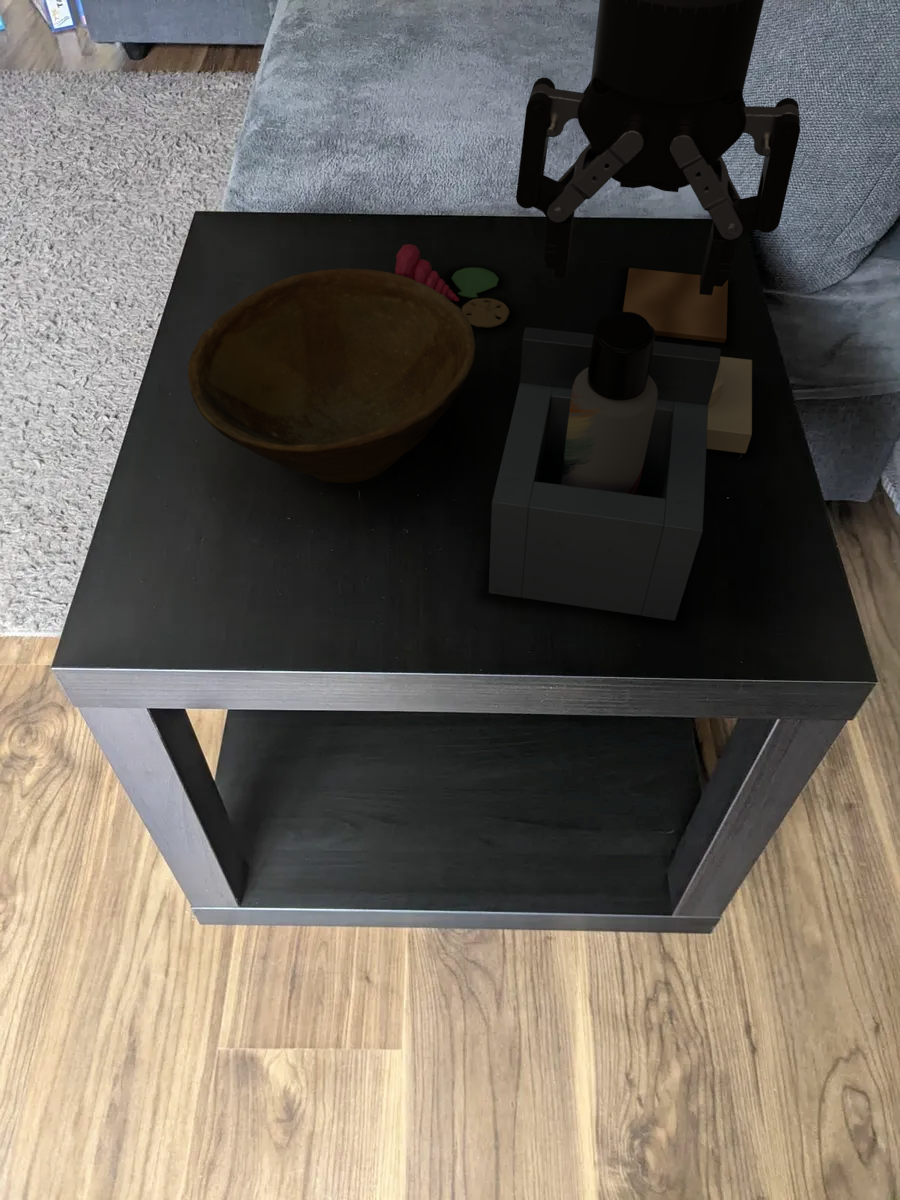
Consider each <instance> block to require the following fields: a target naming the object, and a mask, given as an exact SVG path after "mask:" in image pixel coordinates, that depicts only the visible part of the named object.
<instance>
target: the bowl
mask: <svg viewBox="0 0 900 1200" xmlns="http://www.w3.org/2000/svg"><path fill="white" fill-rule="evenodd" d="M476 344H477V343H476V339H475V333H474V330H473V327H472V325H471V324H470V322H469V320H468V319H467V317H466V316H465V314H464V313H463V312H462V308H460V307H459V306H458V305H456V303H454V302H453V301H451V300H449V299H448V298H447V297H445V296H444V295H442V294H440V293H438V292H437V291H435V290H434V289H432V288H430V287H428V286H426V285H425V284H422V283H419V282H417V281H414V280H412V279H410V278H407V277H404V276H401V275H398V274H395V272H394V273H393V272H390V271H385V270H377V269H367V268H350V267H349V268H347V267H346V268H335V269H322V270H321V269H320V270H316V271H310V272H304V273H298V274H294V275H291V276H288V277H286V278H283V279H281V280H278V281H275V282H274V283H271V284H269V285H268V286H265V287H264V288H261V289H259V290H258V291H256V292H254V293H252V294H251V295H248V296H247V297H245V298H243V299H241V301H239V302H238V303H236V304H235V305H234V306H232V307H230V308H229V309H228V310H227V311H226V312H225V313H223V314H222V315H221V316H219V317H218V318H217V319H216V320H215V321H214V322H213V324H212V326H211V328H207V329H206V330H204V332H203V333H202V334H201V336H200V337H199V339H198V341H197V344H196V345H195V346H194V348H193V350H192V352H191V354H190V355H191V356H190V357H189V361H188V367H187V380H188V384H189V387H190V395H191V396H192V399H193V402H194V404H195V406H196V408H197V409H198V411H199V413H200V415H201V416H202V417H203V418H204V420H206V421H207V422H208V423H209V425H211V427H213V429H215V430H216V431H217V432H218V433H220V434H221V435H222V436H224V437H225V438H227V439H228V440H230V441H232V442H233V443H235V444H237V445H239V446H241V447H243V448H245V449H247V450H249V451H251V452H253V453H255V454H257V455H259V456H260V457H263V458H265V459H267V460H269V461H271V462H274V463H276V464H277V465H280V466H282V467H284V468H286V469H288V470H292V471H294V472H296V473H301V474H305V475H309V476H312V477H314V478H316V479H317V480H319V481H321V482H325V483H335V484H336V483H337V484H338V483H341V484H355V483H360V482H364V481H368V480H370V479H371V480H372V479H373V478H375V477H377V476H379V475H381V474H383V473H384V472H386V471H387V470H388V469H389V468H390V467H392V466H394V464H395V463H396V462H398V460H399V459H400V458H401V457H403V456H404V455H405V454H407V453H408V452H410V450H411V451H412V449H413V448H415V447H416V446H417V445H419V444H420V443H421V442H422V441H423V440H424V439H425V438H426V436H427V435H428V434H429V432H430V431H431V430H432V429H433V427H435V425H436V424H437V423H438V421H439V420H440V419H441V417H443V416H444V414H445V413H446V411H447V410H448V409H449V408H450V406H452V404H453V402H455V400H456V398H457V397H458V396H459V394H460V393H461V391H462V389H463V387H464V386H465V384H466V382H467V380H468V379H469V377H470V375H471V373H472V372H473V368H474V365H475V361H476V355H477V353H476V352H477V350H476V349H477V347H476Z"/></svg>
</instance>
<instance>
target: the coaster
mask: <svg viewBox="0 0 900 1200" xmlns="http://www.w3.org/2000/svg"><path fill="white" fill-rule="evenodd" d="M700 277H701V274H693V273H684V272H674V271H664V270H655V269H654V270H653V269H645V268H644V269H643V268H635V267H628V271H627V279H626V285H625V293H624V300H623V307H622V312H633V313H636V314H639V315H641V316H642V317H644V318H645V319H646V320H647V321H648V323H649V325H651V326H652V327H653V328H654V330H655V336H659V337H665V338H676V339H685V340H695V341H704V342H711V343H722V344H725V343H726V341H727V335H728V334H727V333H728V330H727V329H728V299H729V298H728V295H729V279H728V280H727V281H726V282H725V284H724V285H723V286H722V287H719V286H714V289H713V292H712V295H703V294H699V290H700Z"/></svg>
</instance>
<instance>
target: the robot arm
mask: <svg viewBox="0 0 900 1200" xmlns="http://www.w3.org/2000/svg"><path fill="white" fill-rule="evenodd" d="M764 2H765V0H599V3H598V5H599V6H598V14H597V23H596V31H595V38H594V39H595V41H594V51H593V60H592V67H591V77H590V80H589V83H588V84H587V86H586V87H585V89H584V90H583V92H579V91H573V90H566V89H565V90H564V89H559V88H556V85H555V83H554V81H553V80H552V79H551V78H549V77H540V78H537V79H536V80H535V81H534V83H533V85H532V88H531V91H530V95H529V98H528V101H527V104H526V108H525V115H524V125H523V132H522V133H523V134H522V141H521V149H520V159H519V167H518V168H519V169H518V175H517V176H518V177H517V185H516V193H515V202H516V203H517V205H518V206H519V207H521V208H523V209H526V210H527V209H532V208H534V209H536V210H539V211H540V212H541V213H542V214H544V216H545V218H546V233H545V246H544V257H543V261H544V263H545V266H546V268H547V269H554V273H553V274H554V275H553V278H554V279H560V280H567V276H568V270H569V265H570V258H571V249H572V241H573V233H574V232H573V230H574V222H575V211H576V210H577V209H578V208H579V207H580V206H582V204H583V203H584V202H585V201H586V200H590V199H592V198H593V197H594V195H596V194H597V193H598V192H599V191H600V190H601V189H602V188H603V187H604V186H605V185H606V183H608V182H609V181H610V180H611V179H613V180H614V181H615V182H618V183H619V188H627V189H637V188H644V187H645V188H646V187H651V188H654V189H657V190H659V191H662V192H671V193H679V189H682V188H685V187H688V186H690V188H691V189H692V191H693V193H694V195H695V196H696V198H697V200H698V201H699V203H700V205H701V207H702V208H703V210H704V211H706V212H707V213H708V215H709V216H710V218H711V220H712V223H711V229H710V233H709V237H708V241H707V246H706V250H705V254H704V259H703V263H702V266H701V271H700V275H701V277H700V290H699V294H703V295H712V292H713V289H714V286H719V287H722V286H723V285H724V284H725V282H726V281H727V280H728V281H729V275H730V273H731V272H730V271H731V268H732V264H733V261H734V256H735V253H736V250H737V245H738V242H739V240H740V238H741V237H742V236H743V235H745V234H746V233H748V232H753V231H760V232H761V233H764V234H765V233H766V234H768V233H771V232H774V231H775V230H777V229H778V228H779V226H780V223H781V218H782V213H783V210H784V205H785V200H786V197H787V191H788V188H789V182H790V179H791V174H792V169H793V165H794V161H795V156H796V152H797V147H798V143H799V138H800V134H801V123H800V122H801V119H800V106H799V103H798V101H797V100H796V99H794V98H792V97H786V98H782V99H781V100H779V101H778V102H777V103H776V105H775V106H755V105H753V106H751V105H750V106H749V105H746V103H745V100H744V94H743V93H744V89H745V85H746V79H747V76H748V71H749V67H750V62H751V57H752V53H753V50H754V45H755V42H756V41H755V40H756V36H757V32H758V28H759V24H760V19H761V14H762V10H763V6H764ZM574 119H577V122H578V125H579V127H580V128H581V130H582V132H583V134H584V136H585V137H586V140H587V141H588V143H589V144H588V145H587V146H586V147H584V149H583V150H582V151H581V152H580V154H579V155H578V157H577V158H576V160H575V162H574V163H572V165H571V166H570V167H569V168H568V170H566V172H564V174H562V176H560V178H559V179H558V180H556V179H553V178H551V177H549V176H547V175H545V168H546V163H547V161H546V160H547V154H548V146H549V139H550V138H557V137H558V136H560V135H561V134H562V133H563V131H564V128H565V125H566V124H567V123H568V122H569V121H571V120H574ZM743 134H748V135H749V136H750V137H752V140H753V148H754V151H755V153H756V154H757V155H759V156H760V157H761V156H762V157H763V163H762V167H761V172H760V178H759V183H758V188H757V192H756V195H752V196H747V197H744V198H741V196H740V194H739V192H738V191H737V188H736V185H734V183H733V180H732V179H731V177H730V173H729V170H728V167H727V164H726V162H725V161H724V158H723V157H722V156H723V155H724V154H725V153H726V152H728V151H729V150H730V149H731V147H733V146H734V144H736V143H737V142H738V141H739V140H740V138H742V136H743Z"/></svg>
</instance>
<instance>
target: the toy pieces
mask: <svg viewBox="0 0 900 1200" xmlns="http://www.w3.org/2000/svg"><path fill="white" fill-rule="evenodd" d="M395 258H396V263H395V264H396V265H395V269H394V274H398V275H401V276H404V277H407V278H410V279H412V280H414V281H417V282H419V283H422V284H425V285H426V286H428V287H430V288H432V289H434V290H435V291H437V292H438V293H440V294H442V295H444V296H445V297H447V298H448V299H449V300H450V301H451V302H453V301H454V302H456V303H457V302H460V297H463V298H468V299H471V300H469V301H468V302H466V303H464V304H463V305H462V307H461V310H462V312H463V313H464V314H465V316H466V317H467V319H468V320H469V322H470V324H471V326H473V327H476V328H483V329H484V328H485V329H489V328H490V329H491V328H496V327H498V326H501V325H502V324H504V323H505V322H506V321H507V320H508V317H509V315H510V309H509V307H508V306H507V305H506V303H504V302H502V301H500V300H498V299H494V298H490V297H484V298H483V297H482V298H481V297H479V294H481V293H485V292H487V291H489V290H492V289H494V288H496V287H497V286H498V283H499V280H500V278H499V277H498V276H497V275H496V273H495V272H493V271H490V270H489V269H486V268H483V267H472V266H471V267H463V268H462V269H459V270H456V271H455V272H454V273H453V275H452V276H451V277H450V278H451V281H452V282H453V284H454V285H455V286H456V287H457V289H458V290H460V291H458V292H456V293H457V294H456V293H455V292H454V291H453V290H452V289H451V288H450V286H449V284H446V282H445V280H444V279H443V278H440V275H439V273H438V271H437V270H432V268H433V267H432V265H431V262H430V261H428V260H426V259H424V258H421V250H420V249H419V248H418V246H417V245H414V244H410V243H406V244H403V245H402V246H401V248H400V249H399V250H398V252H397V253H396V255H395ZM458 296H459V297H458Z"/></svg>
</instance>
